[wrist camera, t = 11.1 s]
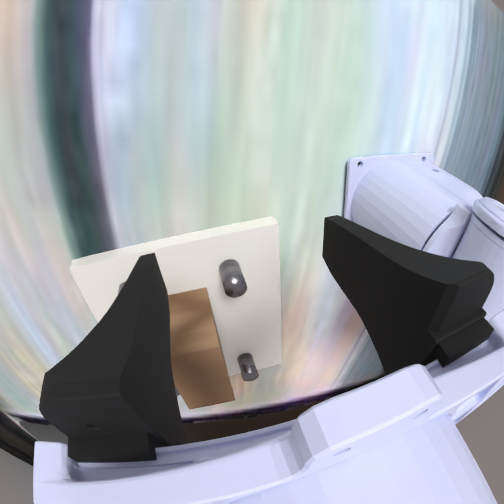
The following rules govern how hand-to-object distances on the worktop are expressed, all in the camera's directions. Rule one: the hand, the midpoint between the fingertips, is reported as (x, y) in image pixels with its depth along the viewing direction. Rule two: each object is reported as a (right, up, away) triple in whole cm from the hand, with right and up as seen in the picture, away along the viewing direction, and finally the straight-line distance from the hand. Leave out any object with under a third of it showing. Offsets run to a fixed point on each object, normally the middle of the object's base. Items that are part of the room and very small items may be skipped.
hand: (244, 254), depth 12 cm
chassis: (-5, -6, +15) cm, 17 cm away
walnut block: (-5, -6, +13) cm, 15 cm away
